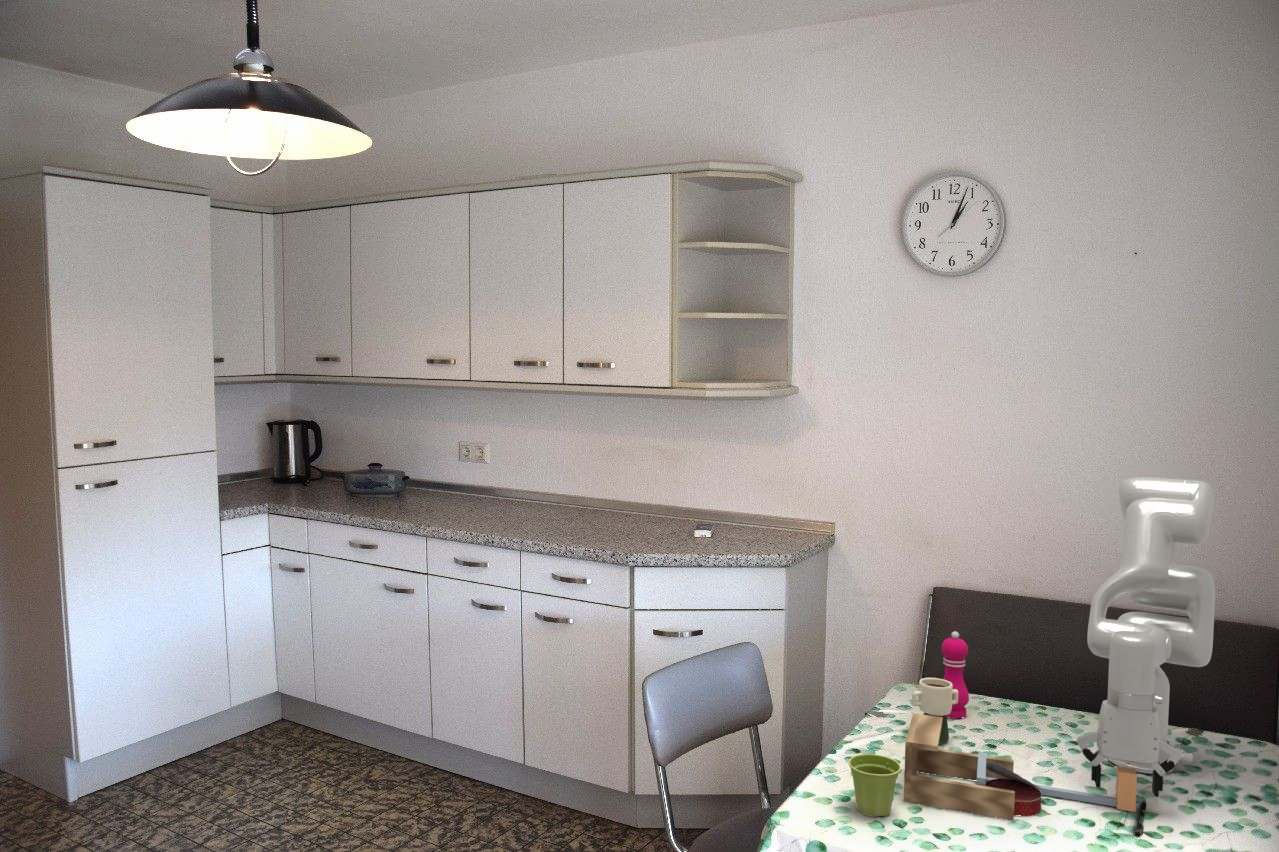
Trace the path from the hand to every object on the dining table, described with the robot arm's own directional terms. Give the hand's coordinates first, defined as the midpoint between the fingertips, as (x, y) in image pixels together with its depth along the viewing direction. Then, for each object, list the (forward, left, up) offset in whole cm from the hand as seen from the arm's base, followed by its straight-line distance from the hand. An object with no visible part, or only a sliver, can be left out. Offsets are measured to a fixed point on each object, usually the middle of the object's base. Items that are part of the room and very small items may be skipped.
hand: (1126, 789), depth 175 cm
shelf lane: (+29, +6, -4) cm, 29 cm away
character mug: (+36, -20, -4) cm, 41 cm away
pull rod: (+12, +6, -3) cm, 14 cm away
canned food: (+20, +7, -4) cm, 21 cm away
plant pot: (+44, +20, -4) cm, 48 cm away
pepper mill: (+33, -39, -4) cm, 51 cm away
